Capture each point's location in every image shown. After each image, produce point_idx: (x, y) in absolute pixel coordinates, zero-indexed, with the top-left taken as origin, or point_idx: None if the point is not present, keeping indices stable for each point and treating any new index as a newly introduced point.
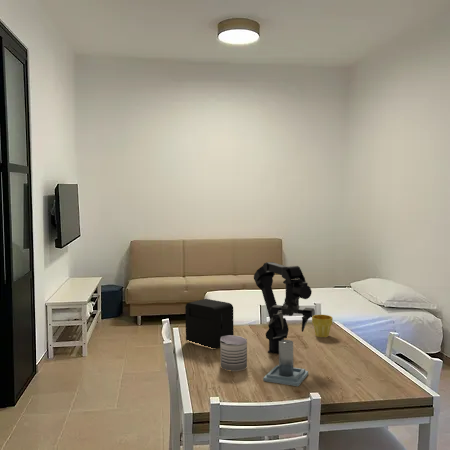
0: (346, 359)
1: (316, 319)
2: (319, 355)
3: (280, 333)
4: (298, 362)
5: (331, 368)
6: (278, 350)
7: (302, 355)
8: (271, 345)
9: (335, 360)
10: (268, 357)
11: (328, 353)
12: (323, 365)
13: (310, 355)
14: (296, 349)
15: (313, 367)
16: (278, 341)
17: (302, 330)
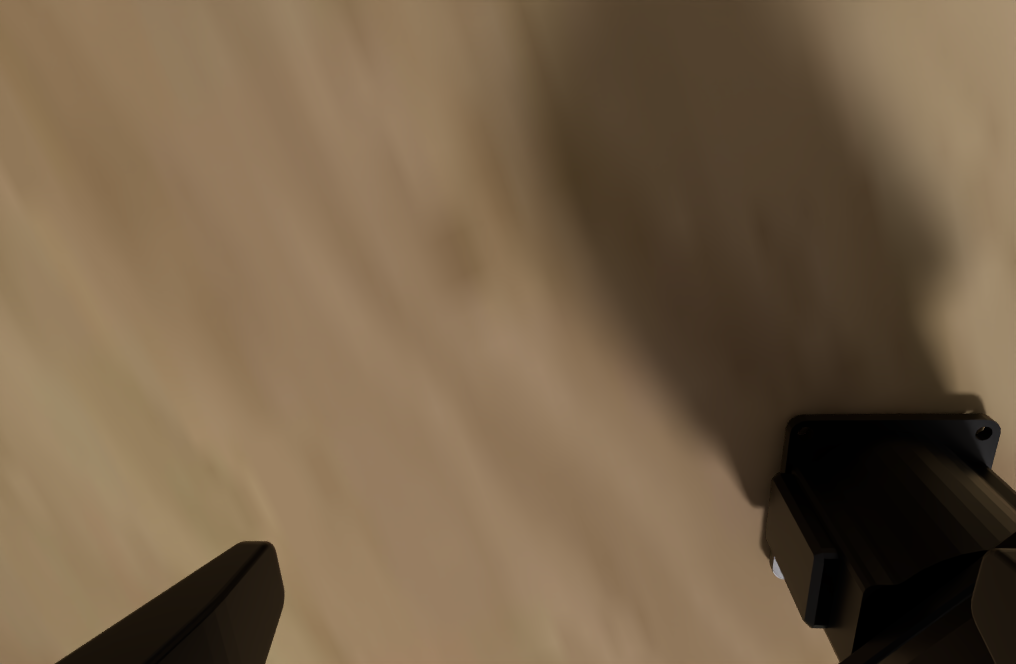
0: (41, 531)
1: None
2: (338, 547)
3: (959, 641)
4: (468, 214)
5: (10, 177)
6: (845, 459)
7: (514, 481)
8: (996, 493)
9: (116, 462)
10: (941, 233)
11: (281, 631)
12: (143, 243)
13: (428, 513)
14: (646, 637)
15: (212, 106)
16: (912, 549)
17: (218, 560)
